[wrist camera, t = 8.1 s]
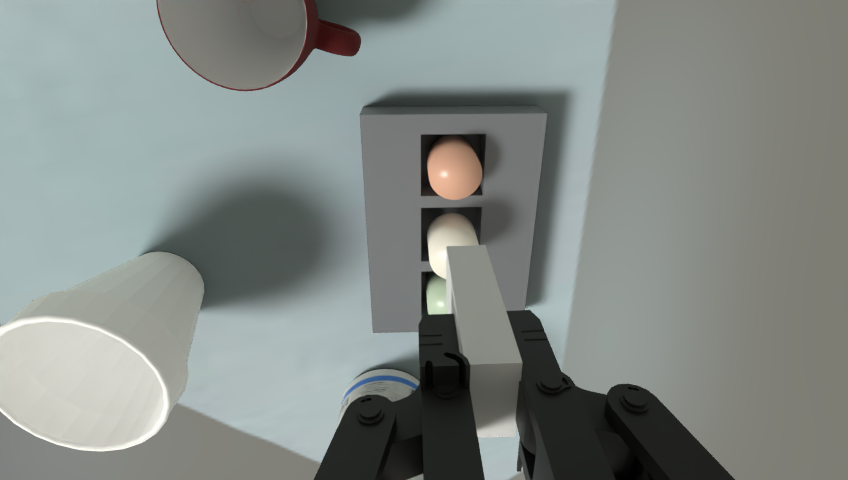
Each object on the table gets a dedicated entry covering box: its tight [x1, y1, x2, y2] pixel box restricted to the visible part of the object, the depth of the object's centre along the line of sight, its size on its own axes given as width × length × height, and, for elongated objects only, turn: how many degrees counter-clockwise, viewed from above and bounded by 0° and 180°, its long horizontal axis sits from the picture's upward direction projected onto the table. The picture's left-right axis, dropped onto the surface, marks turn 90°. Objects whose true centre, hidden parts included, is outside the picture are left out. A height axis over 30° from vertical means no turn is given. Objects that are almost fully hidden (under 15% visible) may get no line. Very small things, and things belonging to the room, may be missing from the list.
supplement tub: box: [337, 369, 423, 480], centre depth 45 cm, size 10×10×15 cm
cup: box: [0, 251, 204, 451], centre depth 38 cm, size 12×12×14 cm
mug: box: [156, 0, 361, 91], centre depth 30 cm, size 10×8×10 cm
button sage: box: [426, 271, 447, 315], centre depth 42 cm, size 4×4×4 cm
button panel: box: [360, 106, 547, 333], centre depth 41 cm, size 20×14×3 cm
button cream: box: [427, 213, 479, 279], centre depth 38 cm, size 4×4×4 cm
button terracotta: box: [427, 135, 482, 200], centre depth 37 cm, size 4×4×4 cm
